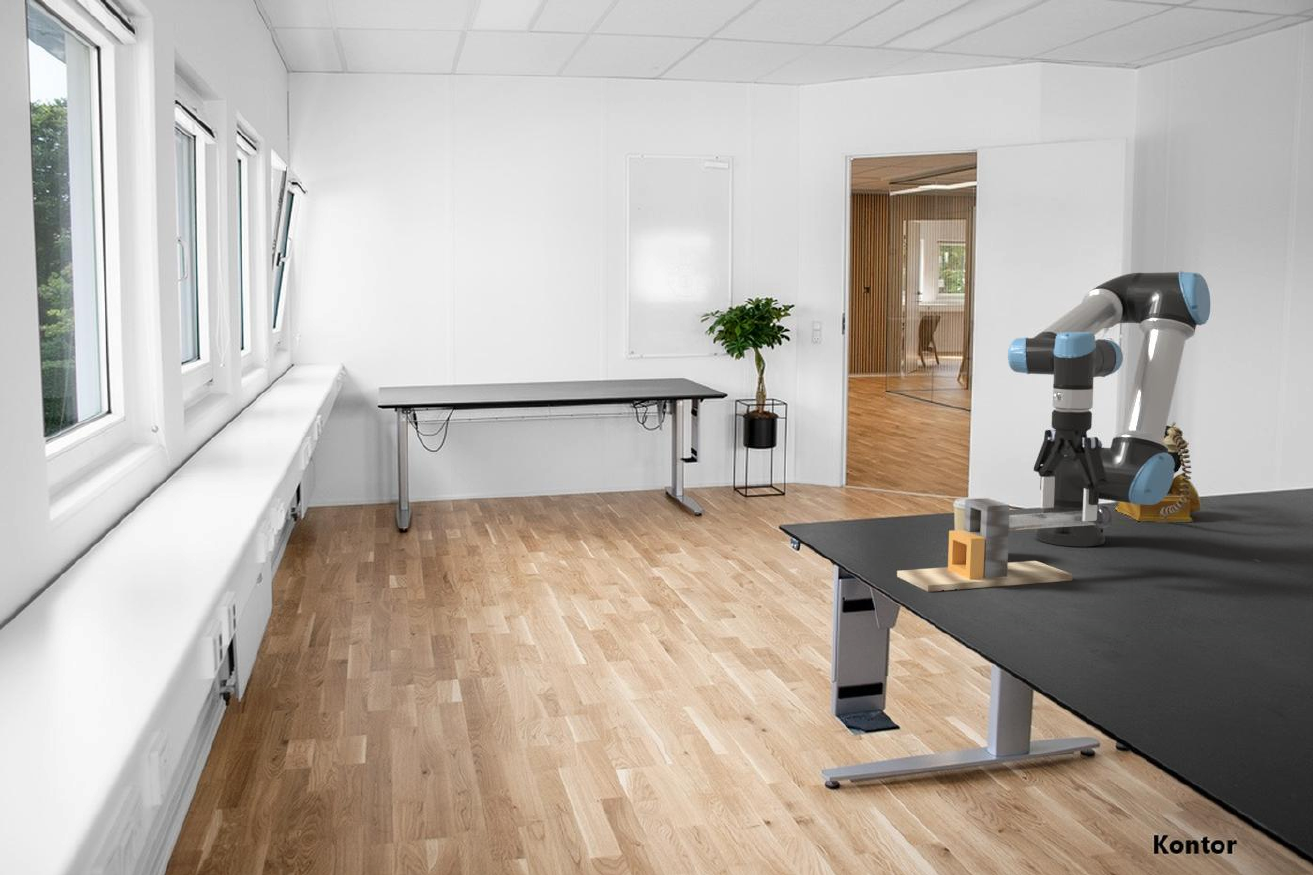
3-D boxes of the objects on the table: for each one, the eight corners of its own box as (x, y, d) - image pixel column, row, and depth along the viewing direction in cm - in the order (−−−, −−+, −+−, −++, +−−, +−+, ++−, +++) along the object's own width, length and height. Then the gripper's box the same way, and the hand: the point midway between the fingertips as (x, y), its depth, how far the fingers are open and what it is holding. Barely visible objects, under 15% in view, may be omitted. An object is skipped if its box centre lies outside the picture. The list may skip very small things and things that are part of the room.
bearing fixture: (1035, 566, 231) (1038, 493, 229) (1072, 580, 220) (1076, 503, 218) (897, 576, 222) (899, 500, 220) (927, 591, 211) (930, 511, 209)
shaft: (1096, 525, 230) (1097, 504, 229) (1110, 529, 225) (1112, 508, 225) (979, 532, 222) (980, 511, 221) (991, 537, 218) (992, 515, 217)
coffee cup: (998, 561, 235) (1000, 506, 234) (952, 559, 237) (955, 504, 235) (994, 552, 244) (996, 498, 243) (950, 550, 246) (952, 496, 245)
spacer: (961, 568, 224) (962, 529, 223) (983, 578, 216) (984, 538, 215) (947, 569, 223) (949, 530, 222) (969, 579, 215) (971, 538, 214)
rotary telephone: (1237, 534, 263) (1244, 430, 260) (1161, 534, 264) (1167, 429, 261) (1174, 507, 298) (1179, 414, 295) (1107, 506, 299) (1112, 414, 296)
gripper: (1018, 404, 233) (1015, 503, 236) (1097, 417, 209) (1092, 527, 212) (1049, 402, 235) (1045, 501, 238) (1130, 415, 211) (1125, 525, 214)
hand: (1067, 514), depth 225 cm, fingers open, 13 cm apart
